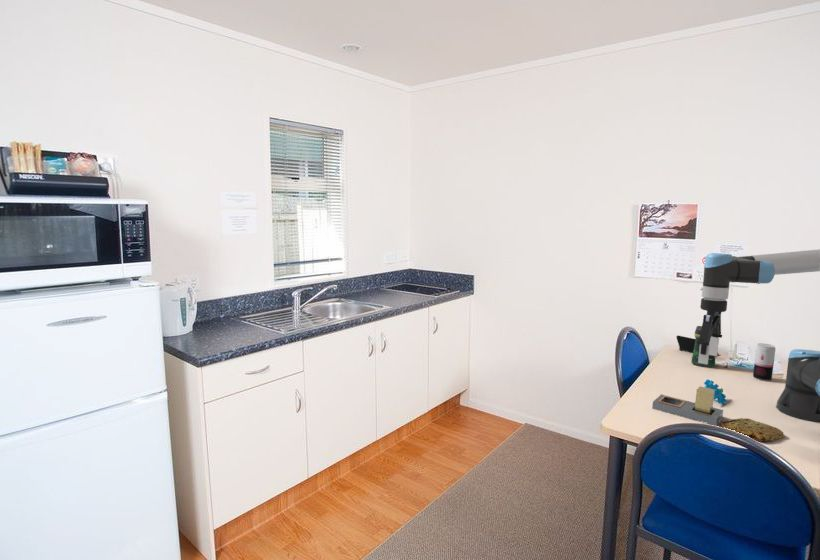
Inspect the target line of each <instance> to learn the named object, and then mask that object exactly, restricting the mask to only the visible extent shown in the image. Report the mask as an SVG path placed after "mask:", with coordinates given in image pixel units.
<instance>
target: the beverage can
mask: <svg viewBox="0 0 820 560" xmlns="http://www.w3.org/2000/svg"><path fill="white" fill-rule="evenodd" d="M755 348H756V349H755V357H754V364H753V373H752V377H753V378H754V379H755V378H756V379H755V380H758V379H759V380H758V381H763V382H769V381H772V380H773V372H774V364H775V363H774V362H775V356H776V354H775V353H776V349H777V348H776V346H775V345H773V344H769V343H761V342H760V343H757V344H756V347H755Z"/></svg>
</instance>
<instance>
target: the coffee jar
mask: <svg viewBox="0 0 820 560" xmlns="http://www.w3.org/2000/svg"><path fill="white" fill-rule="evenodd" d="M701 328H702V325H697V326H696V327H695V330H694V337H695V338H694V339H695V346H694V351H693V353H692V356H691V361H690V362H691V364H693V365H695V366H697V367H698V366H699V367H703V368H715V366H716V356H713V355H709V357H708V364H702V363H698V358H699V348H700V344H697V341H699V338H700V333H701ZM711 337H712V336H711Z"/></svg>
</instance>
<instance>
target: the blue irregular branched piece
mask: <svg viewBox="0 0 820 560" xmlns="http://www.w3.org/2000/svg"><path fill="white" fill-rule="evenodd" d="M714 383H715V382H714V381H713V380H709V379H705V381H704V382H703V384H704V387H705V388H710V389H714V390H715V391H714V401H715V400H716V402H717V403H718V404H721V405H725V404H726V402H728V400H727V399H726V398H727V396H726V394H724V389H723V387H721V388H719V385H718V383H715V384H714Z"/></svg>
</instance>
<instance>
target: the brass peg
mask: <svg viewBox="0 0 820 560" xmlns="http://www.w3.org/2000/svg"><path fill="white" fill-rule="evenodd" d="M714 391H715V390H714V389H710V388H705V386H701V385H699V386H698V387H697V389H696V393H695V402H694V403H695V411H698V412H701V413H705V414H709V415H712V410H713V408H714V401H715V400H714Z"/></svg>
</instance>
